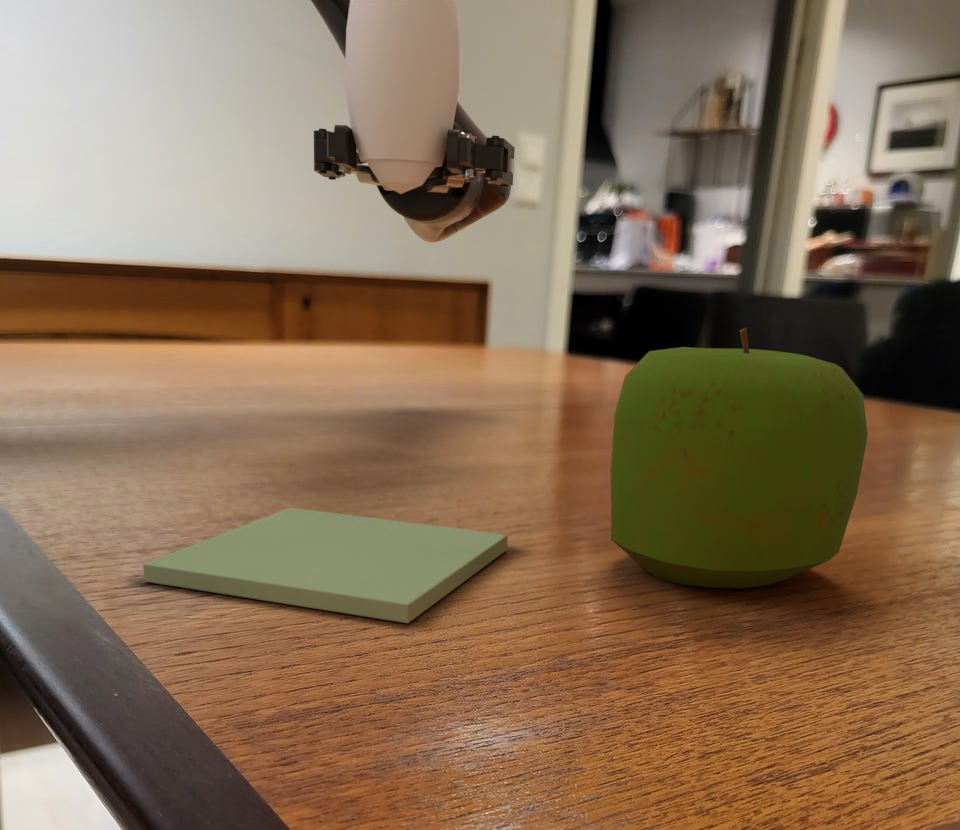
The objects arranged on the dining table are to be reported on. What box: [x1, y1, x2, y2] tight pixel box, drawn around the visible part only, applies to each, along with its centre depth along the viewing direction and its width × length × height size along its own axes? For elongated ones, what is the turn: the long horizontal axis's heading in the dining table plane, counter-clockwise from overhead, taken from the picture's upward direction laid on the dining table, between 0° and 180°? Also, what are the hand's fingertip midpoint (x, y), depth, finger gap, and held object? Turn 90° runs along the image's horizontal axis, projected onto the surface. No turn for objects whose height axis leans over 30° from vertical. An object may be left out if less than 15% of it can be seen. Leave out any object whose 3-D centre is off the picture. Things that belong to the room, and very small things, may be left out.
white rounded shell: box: [344, 0, 460, 194], centre depth 65 cm, size 7×7×21 cm
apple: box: [610, 327, 869, 589], centre depth 45 cm, size 11×11×11 cm
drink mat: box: [142, 507, 509, 624], centre depth 45 cm, size 12×12×1 cm
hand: (396, 146), depth 62 cm, fingers closed on white rounded shell, 6 cm apart
